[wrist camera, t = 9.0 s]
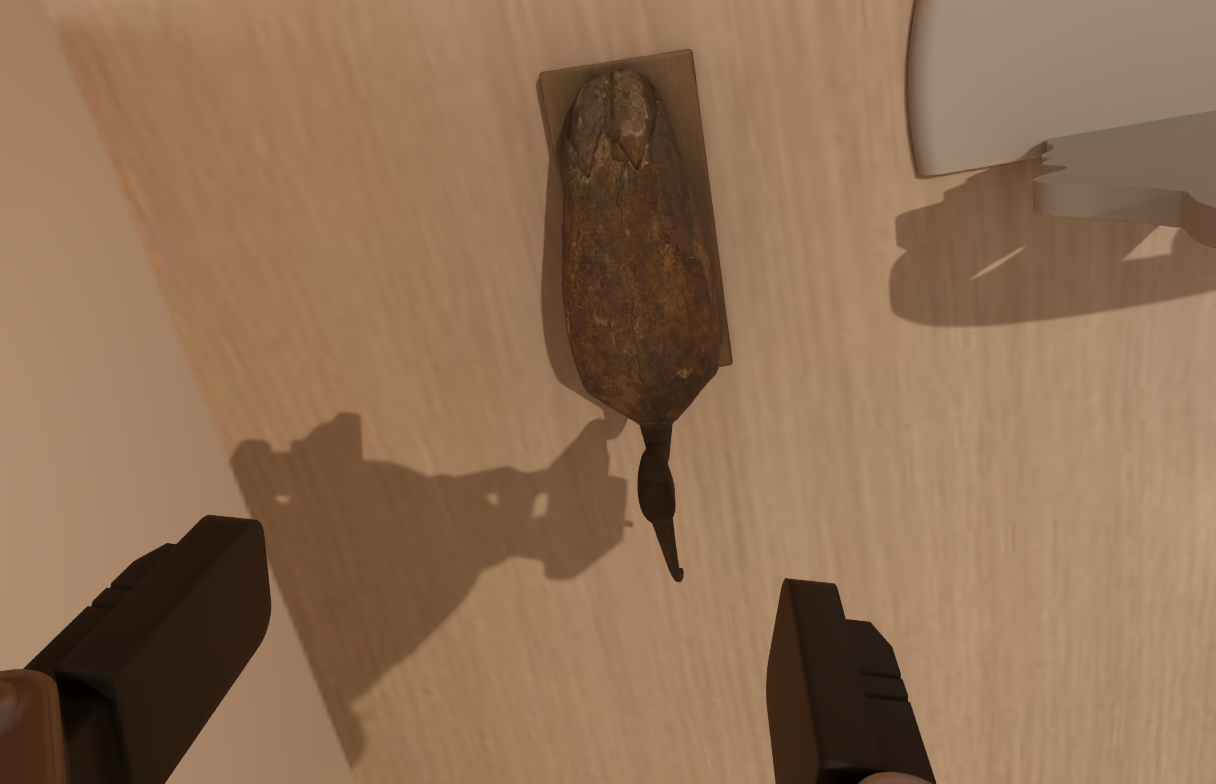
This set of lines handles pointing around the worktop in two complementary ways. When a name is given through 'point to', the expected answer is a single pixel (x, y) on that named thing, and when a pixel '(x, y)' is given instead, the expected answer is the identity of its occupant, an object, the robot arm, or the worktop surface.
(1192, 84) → the psi symbol sculpture
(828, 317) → the worktop surface
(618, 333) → the figurine
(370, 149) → the worktop surface
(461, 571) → the worktop surface
